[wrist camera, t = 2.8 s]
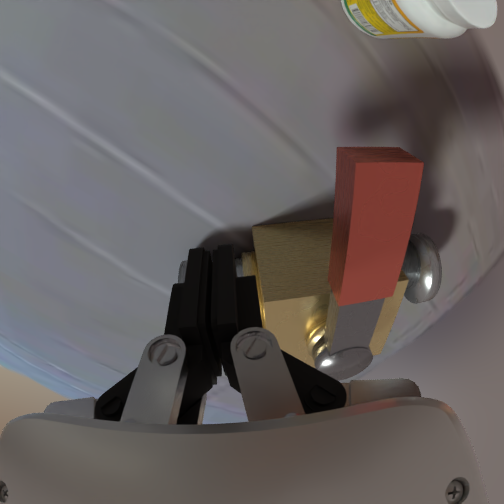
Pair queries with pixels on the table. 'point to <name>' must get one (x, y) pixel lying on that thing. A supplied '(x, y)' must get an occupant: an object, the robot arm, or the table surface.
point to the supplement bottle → (419, 17)
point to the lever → (365, 250)
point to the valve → (321, 282)
